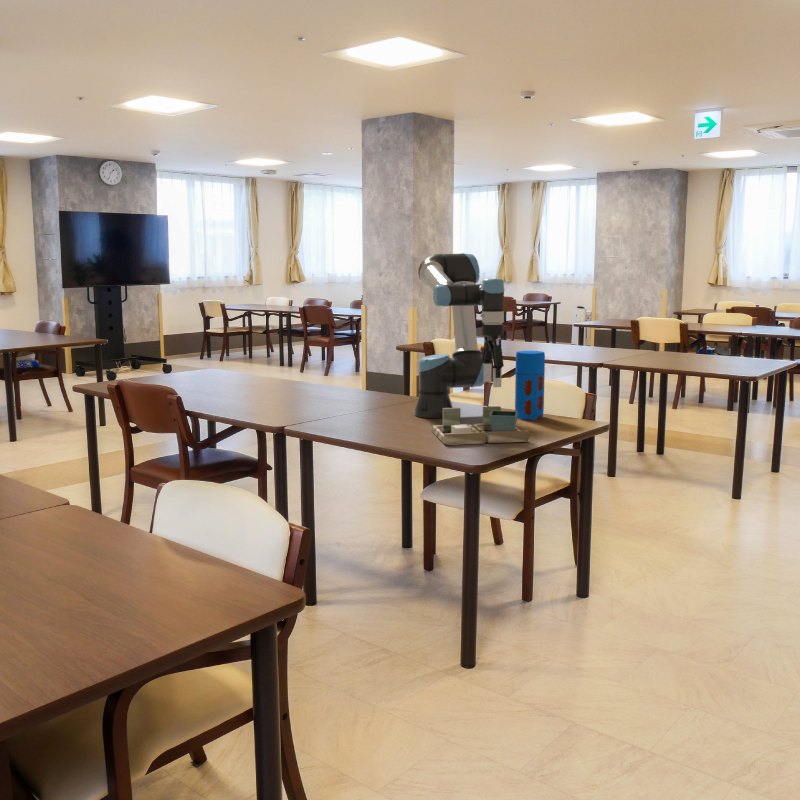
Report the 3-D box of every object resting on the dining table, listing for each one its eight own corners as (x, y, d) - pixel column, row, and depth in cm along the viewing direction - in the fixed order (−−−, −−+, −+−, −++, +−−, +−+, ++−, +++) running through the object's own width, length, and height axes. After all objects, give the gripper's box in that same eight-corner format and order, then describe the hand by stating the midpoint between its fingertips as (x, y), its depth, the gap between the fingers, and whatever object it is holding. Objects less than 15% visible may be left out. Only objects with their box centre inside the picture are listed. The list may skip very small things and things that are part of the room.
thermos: (549, 417, 318) (550, 352, 314) (530, 420, 311) (531, 354, 307) (527, 413, 326) (529, 350, 322) (509, 416, 320) (510, 352, 315)
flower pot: (515, 442, 274) (516, 415, 272) (489, 441, 276) (489, 415, 274) (517, 437, 282) (517, 411, 281) (491, 436, 284) (491, 410, 283)
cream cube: (451, 440, 279) (451, 425, 278) (464, 439, 280) (465, 424, 280) (456, 443, 274) (456, 428, 273) (470, 442, 276) (470, 427, 275)
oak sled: (472, 429, 294) (472, 407, 293) (509, 428, 296) (509, 405, 295) (488, 443, 272) (488, 419, 271) (528, 441, 274) (528, 417, 272)
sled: (432, 430, 292) (431, 408, 291) (469, 429, 294) (469, 407, 293) (444, 444, 270) (444, 420, 269) (485, 443, 272) (485, 419, 270)
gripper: (473, 321, 300) (473, 380, 303) (491, 326, 275) (490, 389, 279) (494, 321, 301) (493, 379, 304) (513, 325, 277) (512, 389, 280)
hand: (492, 384), depth 292 cm, fingers open, 13 cm apart
